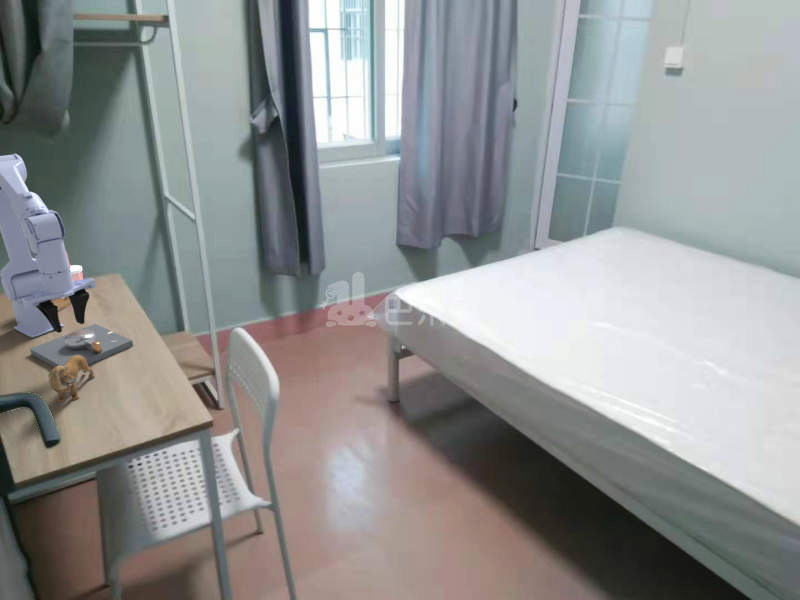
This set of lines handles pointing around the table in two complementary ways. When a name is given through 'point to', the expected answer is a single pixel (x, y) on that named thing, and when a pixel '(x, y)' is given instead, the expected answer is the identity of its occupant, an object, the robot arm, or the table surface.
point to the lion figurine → (68, 376)
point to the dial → (83, 341)
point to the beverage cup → (76, 271)
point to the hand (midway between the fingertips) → (69, 326)
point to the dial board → (60, 354)
